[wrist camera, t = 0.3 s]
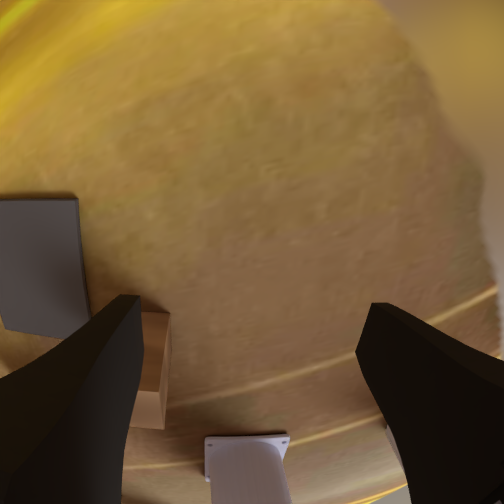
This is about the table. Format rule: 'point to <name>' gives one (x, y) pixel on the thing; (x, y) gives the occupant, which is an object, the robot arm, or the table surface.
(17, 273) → the mat
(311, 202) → the table surface
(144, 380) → the oak push block
